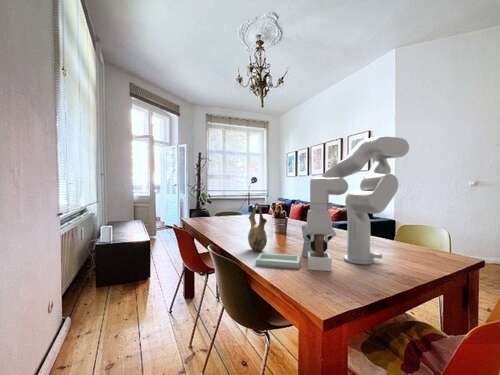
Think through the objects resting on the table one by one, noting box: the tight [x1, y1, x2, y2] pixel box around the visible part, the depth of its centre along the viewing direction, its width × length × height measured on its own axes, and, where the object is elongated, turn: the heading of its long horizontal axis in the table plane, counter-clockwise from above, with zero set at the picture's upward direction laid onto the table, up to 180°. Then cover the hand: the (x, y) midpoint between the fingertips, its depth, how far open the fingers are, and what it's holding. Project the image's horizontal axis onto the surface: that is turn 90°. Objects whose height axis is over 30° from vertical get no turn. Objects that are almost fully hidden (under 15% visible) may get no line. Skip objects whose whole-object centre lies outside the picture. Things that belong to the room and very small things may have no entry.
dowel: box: [314, 234, 325, 257], centre depth 104 cm, size 4×4×14 cm
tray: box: [255, 252, 301, 270], centre depth 108 cm, size 18×11×2 cm, turn 77°
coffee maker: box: [301, 223, 314, 259], centre depth 121 cm, size 15×9×18 cm, turn 161°
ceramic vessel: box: [247, 202, 268, 253], centre depth 129 cm, size 16×9×25 cm, turn 27°
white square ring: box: [307, 251, 332, 272], centre depth 104 cm, size 9×9×5 cm
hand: (318, 250), depth 104 cm, fingers closed on dowel, 4 cm apart
